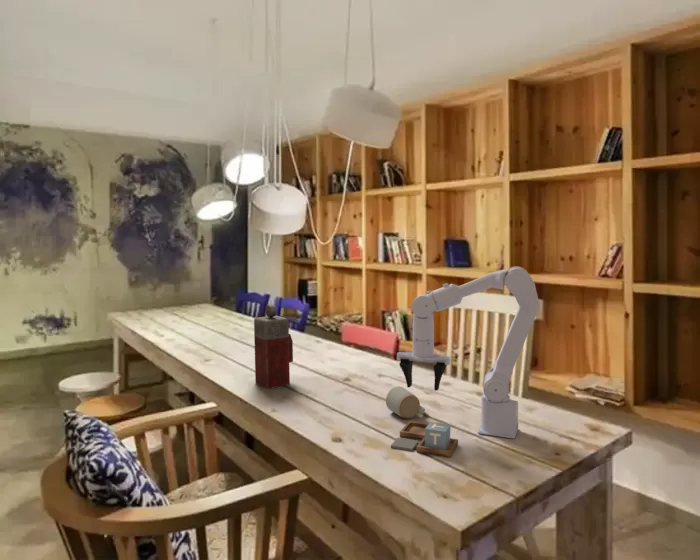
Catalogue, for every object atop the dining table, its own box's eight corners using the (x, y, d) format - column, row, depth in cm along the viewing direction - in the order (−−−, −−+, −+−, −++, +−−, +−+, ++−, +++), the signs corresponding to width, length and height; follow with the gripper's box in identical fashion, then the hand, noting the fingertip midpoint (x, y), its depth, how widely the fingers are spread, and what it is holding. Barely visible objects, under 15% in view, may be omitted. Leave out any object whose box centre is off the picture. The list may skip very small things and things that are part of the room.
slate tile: (418, 442, 135) (418, 440, 135) (412, 451, 130) (412, 448, 130) (398, 439, 137) (397, 437, 137) (390, 447, 132) (390, 445, 132)
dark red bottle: (295, 383, 188) (294, 304, 186) (267, 389, 181) (265, 307, 179) (282, 377, 195) (281, 301, 193) (255, 383, 189) (253, 304, 186)
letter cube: (450, 444, 133) (450, 424, 132) (445, 452, 128) (445, 431, 128) (430, 441, 135) (430, 421, 134) (424, 448, 130) (425, 428, 130)
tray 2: (457, 444, 134) (457, 439, 133) (450, 457, 126) (450, 451, 126) (426, 439, 137) (426, 434, 137) (416, 452, 129) (416, 446, 129)
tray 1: (438, 430, 143) (438, 425, 143) (430, 441, 136) (430, 436, 136) (409, 426, 146) (409, 421, 146) (399, 436, 139) (399, 431, 139)
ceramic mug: (400, 422, 150) (400, 395, 149) (385, 413, 157) (385, 387, 156) (431, 416, 155) (431, 390, 154) (415, 408, 162) (415, 383, 161)
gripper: (393, 339, 144) (393, 388, 146) (446, 344, 139) (445, 395, 140) (401, 335, 151) (401, 382, 152) (452, 338, 145) (451, 387, 146)
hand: (423, 387), depth 146 cm, fingers open, 7 cm apart
